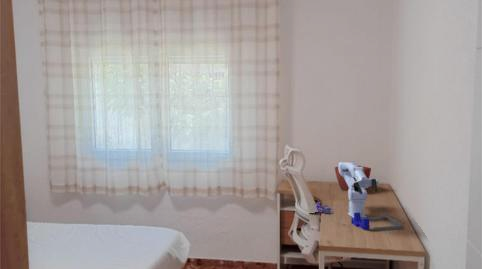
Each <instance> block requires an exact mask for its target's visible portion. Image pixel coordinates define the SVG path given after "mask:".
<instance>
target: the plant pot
mask: <svg viewBox="0 0 482 269" xmlns="http://www.w3.org/2000/svg"><path fill="white" fill-rule="evenodd" d="M356 165H357V164H356ZM357 166H358V167H363V168H364V174H365V175H366V177H367V179H370V175H371V171H372V167H368V166H362V165H357ZM334 171H335V176H336V178H337V182H338V185H339V188H340V190H343V191H347V192H348V189H349V187H348V185H347V183H346V181H345V179H344V177H343V176H341V175H340V173H339V170H338V166H335V167H334ZM353 178H354V177H353ZM354 180H355V182H356V181H357V180H356V179H355V178H354ZM364 190H366V188H365V189H364Z"/></svg>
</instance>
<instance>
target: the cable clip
mask: <svg viewBox="0 0 482 269" xmlns="http://www.w3.org/2000/svg"><path fill="white" fill-rule="evenodd" d="M369 218H370V217H365V218H363V221H362V220H361V216H360V213H359V212H357V213H354V218H353V217H352V218H351V220H350V221H351V222H350V223H351V224H352V225H353V226H354V227H359V228H361V229H362V230H363V231H367V230H370V221H369Z"/></svg>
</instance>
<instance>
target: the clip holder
mask: <svg viewBox="0 0 482 269" xmlns="http://www.w3.org/2000/svg"><path fill="white" fill-rule="evenodd" d="M368 218H369V222H370V221H371V222H372V221H384V220H386V221H388V222H390V223H391V224H393V225H386V226H385V225H383V226H373V229H372V230H373V231H384V230H396V229H397V230H399V229H403V226H404V224H403V223H400V222H399V221H397V220H395V219H394V218H392V217H390V216H388V215H385V216H375V217H368ZM383 219H384V220H383ZM361 220H362V221H363V218H361Z"/></svg>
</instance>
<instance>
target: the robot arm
mask: <svg viewBox="0 0 482 269" xmlns="http://www.w3.org/2000/svg"><path fill="white" fill-rule="evenodd" d="M358 166H359V165H358ZM358 166H357V164H356V163H355V162H354V161H352V162H351V161H349V162H345V161H344V162H341V161H339V163H338V164H337V167H338V170H339V173H340V175H341V176H343V177H344V179H345V181H346V183H347V185H348V187H349V189H348V191H347V197H348V200H349V202H348V212H347V215H348V216H350V217H352V218H354V213H357V212H359V213H360V216H361V218H368V217H367V215H365V202H366V201H367V199H368V192H367V190H366V189H367V188H369V187H372V189H373V190H374V192H375V193H377V192H378V189H377V188H378V185H379V180H378V179H377V178H369V179H367V177H366V175H365V174H364V168H363V167H364V166H363V167H358ZM353 177H354V178H355V179H356V180H357V181H356V182H355V180H354V178H353ZM364 189H365V190H364Z"/></svg>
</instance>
